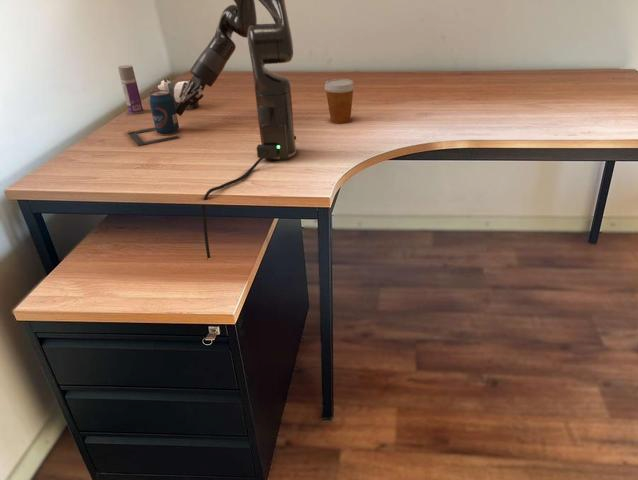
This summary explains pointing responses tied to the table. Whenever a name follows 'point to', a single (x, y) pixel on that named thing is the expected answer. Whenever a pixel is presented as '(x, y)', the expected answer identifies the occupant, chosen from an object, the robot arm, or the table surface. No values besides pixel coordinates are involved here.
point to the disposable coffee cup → (339, 99)
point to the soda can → (163, 112)
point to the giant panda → (174, 91)
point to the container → (130, 89)
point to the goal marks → (140, 141)
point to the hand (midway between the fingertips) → (177, 113)
